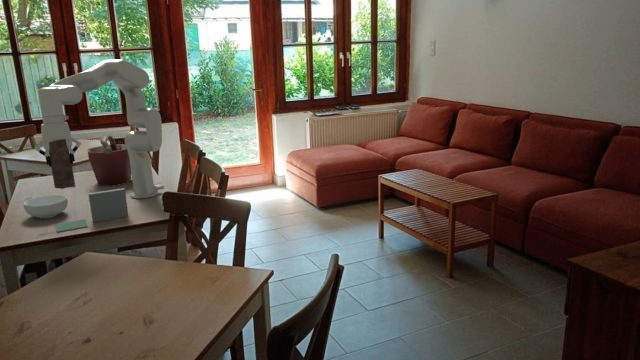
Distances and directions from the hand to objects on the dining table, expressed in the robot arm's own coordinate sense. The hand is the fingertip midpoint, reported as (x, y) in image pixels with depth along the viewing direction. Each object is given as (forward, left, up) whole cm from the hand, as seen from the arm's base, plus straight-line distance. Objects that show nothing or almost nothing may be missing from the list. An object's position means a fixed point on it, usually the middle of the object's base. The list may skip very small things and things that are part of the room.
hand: (61, 164), depth 196 cm
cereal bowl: (+8, -21, -26) cm, 34 cm away
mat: (0, 0, -26) cm, 26 cm away
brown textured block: (0, 0, -10) cm, 10 cm away
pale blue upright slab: (-15, -1, -26) cm, 30 cm away
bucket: (-24, -65, -26) cm, 74 cm away
